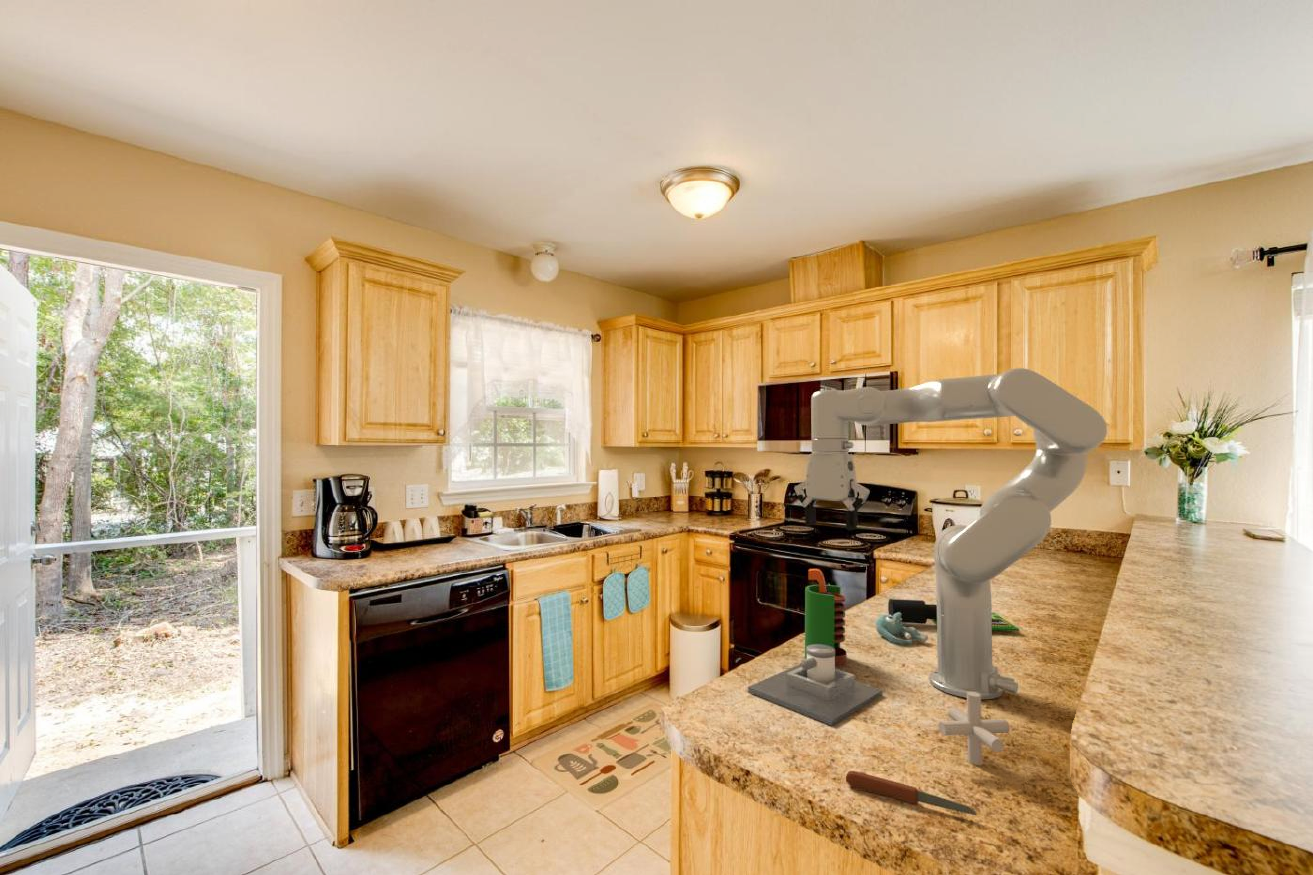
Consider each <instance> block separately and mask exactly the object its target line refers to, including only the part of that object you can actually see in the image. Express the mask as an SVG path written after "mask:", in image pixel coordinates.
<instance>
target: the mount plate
mask: <svg viewBox="0 0 1313 875" xmlns="http://www.w3.org/2000/svg"><path fill="white" fill-rule="evenodd" d="M747 692H748V693H749V694H752V695H754V696H757V697H760V698H761V699H764V700H767V701H769V702H772V703H774V704H776V705H778V706H781V707H784V708H786V709H789V710H791V711H794V712H796V713H799V714H801V715H804V716H807V717H809V718H812V719H813V720H816V721H819V722H820V723H824V724H825V725H829V726H832V727H834V725H837V724H838V723H840V722H841V721H843V720H845V719H846V718H848V717H849V716H851V715H853V714H854V713H856V712H857V711H859V710H861V709H862V708H864V707H866V706H867V705H870V704H871V703H873V702H874V701H875V700H878V699H879V698H881V697H882V696H883V689H881V688H879V687H874V686H872V685H868V684H865V683H861V682H858V681H856V680H855V674H853V673H851V672H847V671H844V670H841V669H837V668H835V681H834V682H832V683H830V684H828V685H826V684H823V683H820V682H817V681H814V680H811V679H808V678H807V670H804V669H803V668H802V666H801V663H799V664H797V665H795V666H794V665H793V666H792V667H790V668H788V669H786V670H783V671H781V672H779V673H777V674H774V675H772V676H770V677H767V678H766V679H762V680H760V681H758V682H756V683H753V684H752V685H749V686H747Z"/></svg>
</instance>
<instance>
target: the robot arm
mask: <svg viewBox="0 0 1313 875" xmlns="http://www.w3.org/2000/svg"><path fill="white" fill-rule="evenodd" d="M810 398H811V400H810V403H811V404H810V408H811V411H810V414H811V416H810V417H811V426H810V428H811V453H809V456H808V459H807V466H806V473H805V475H806V476H805V480H804V481H802V482H801V483H799V484H797V485H795V486H794V488H793V489H794V491H795V494H796V496H797V499H798V501H799V502H800V503H801V505H802V507H803V508H804V522H805V526H806V527H807V526H808V527H809V526H815V525H816V524H817V508H816V506H815V504H816V502H817V501H833V502H842V503H843V504H844V505H845V506H846V508H847V509H848V510H846V511H845V529H846V530H847V531H853V530H857V529H858V528H857V526H858V524H859V511H860V510H861V508H862V507H863V505H865V504H866V501H867V499H868V498H869V495H870V492H871V491H870V489H869V488H867V487H865V486H863V485H861V484H860V483H858V482H857V474H856V473H857V472H856V466H855V461H854V458H853V454H852V453H850V454H849V451H850V449H853V448H854V442H853V441H849V424H848V423H849V422H855V423H856V424H858V425H861V426H877V425H879V426H880V425H891V424H906V423H908V424H909V423H920V422H921V423H922V422H923V423H935V422H947V421H948V422H949V421H961V420H962V421H963V420H975V419H976V420H977V419H990V418H991V419H994V418H995V419H996V418H1006V417H1013V416H1014V417H1016V418H1018V419H1019V420H1020V421H1021V422H1022V423H1024V424H1026V425H1027V426H1029V428H1031V429H1033V438H1034V443H1035V448H1036V449H1035V454H1034V457H1033V459H1032V461H1030V463H1029V464H1028V465H1027V466H1026V467H1025V468H1024V469H1022V471H1021V472H1019V473H1018V474H1017V475H1016V476H1015V477H1013V478H1012V479H1011V480H1009V481H1007V483H1005V484H1004V485H1003V486H1001V487H1000V488H999V489H998V490H996V491H995V492H993V493H992V494H991V495H989V496H988V497H987V498H986V499H985V500H984V501H983V503H982V504H981V506H980V508H979V509H980V510H979V516H978V517H976V519H974V520H973V521H971V523H970V524H968V525H963V524H956V525H951V526H948V527H945V529H943V530H942V531H941V532H940V533H938V535H937V538H936V539H935V542H934V545H933V546H934V547H933V548H934V549H933V559H934V569H935V570H934V572H935V583H936V584H935V585H936V588H935V589H936V605H937V623H936V625H937V626H936V633H937V634H936V635H937V636H936V639H937V640H936V642H937V644H936V645H937V648H936V649H937V669H935V670H932V671H931V672H930V673H929V677H928V679H929V680H928V681H929V682H930V684H931V685H932V686H933V687H935V688H936V689H938V690H940V691H941V692H945V693H947V694H950V695H953V696H957V697H961V698H964V699H965V698H966V699H967V692H968V691H972V692H977V693H979V694H980V695H981V700H992V699H993V700H994V699H997V698H999V697H1001V696H1002V694H1003V691H1006V692H1009V693H1012V694H1017V693H1018V690H1019V684H1018V682H1016V681H1015V678H1011V677H1009V676H1003V675H1001V674H1000V673H999V670H998V668H999V667H998V666H997V665H993V637H992V636H993V630H992V620H991V613H992V593H991V592H992V590H991V580H992V579H994V578H995V577H997V576H998V575H1000V574H1002V573H1003V572H1004V571H1005V570H1006V569H1008V568H1010V567H1011V566H1012V565H1013V564H1014V563H1016V562H1018V560H1020V559H1021V558H1022V557H1024V556H1025V555H1027V554H1028V553H1029V552H1031V551H1032V550H1033V549H1034V548H1036V547H1037V546H1038V545H1039V544H1040V543H1041V542H1043V540H1044V539H1045V538H1046V537H1047V535H1048V534H1049V532H1050V529H1051V526H1052V515H1051V512H1052V511H1053V510H1055V509H1056V508H1057V507H1058V506H1060V504H1062V503H1063V502H1064V501H1065V500H1066V499H1067V498H1068V497H1069V496H1071V495H1072V494H1073V493H1074V491H1076V490H1077V489H1078V487H1079V486H1080V485H1081V483H1082V481H1083V479H1084V476H1085V472H1086V468H1087V458H1088V457H1087V453H1089V452H1092V451H1093V450H1096V449H1097V448H1098V447H1099V446H1101V444H1103V442H1104V441H1105V439H1106V437H1107V434H1108V426H1107V423H1106V420H1105V419H1104V417H1103V416H1102V414H1100V412H1098V410H1096V409H1095V408H1094V407H1092V406H1090V405H1089V404H1088V403H1086V402H1084V401H1083V400H1081V399H1080V398H1078V397H1077V396H1075V395H1073V393H1070V392H1068V391H1067V390H1065V389H1064V388H1062V387H1061V386H1059V385H1058V384H1056V383H1055V382H1053V381H1052V380H1049V379H1048V378H1046V377H1045V376H1043V375H1042V374H1040V373H1038V372H1036V371H1033V370H1031V369H1028V368H1025V367H1024V368H1022V367H1019V368H1018V367H1016V368H1012V369H1009V370H1006V371H1004V372H1002V373H998V374H996V373H995V374H986V375H977V376H967V377H966V376H965V377H954V378H952V377H951V378H942V379H936V380H931V381H928V382H925V383H923V384H920V385H915V386H911V387H908V388H907V387H906V388H899V389H898V388H897V389H893V390H892V389H889V390H879V389H877V388H875V387H870V386H864V387H858V388H851V389H846V390H845V389H844V390H839V389H837V390H836V389H826V390H823V389H822V390H818V391H815V392H813V394H812V395H811V397H810ZM804 490H805V491H804ZM805 493H806V494H805ZM858 494H859V495H858Z"/></svg>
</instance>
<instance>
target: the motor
mask: <svg viewBox="0 0 1313 875" xmlns="http://www.w3.org/2000/svg"><path fill="white" fill-rule="evenodd" d="M807 571H808V574H807V576H808V579H807V580H808V581H811V580H815V581H817V582H818V584H812V585H807V586H805V587H804V588H805V590H804V595H805V596H804V598H805V599H804V601H805V602H804V604H805V605H804V607H805V608H804V660H805V659H807V653H806V647H807V646H808V645H813V644H821V645H827V646H830V647H833V648H834V649H835V668H841V667H844V666H846V665H847V650H845V648H843V647H841V643H844V642H845V640H846V635H845V633H846V628H845V625H846V620H845V619H844V618H845V617H846V612H845V611H844V610H846V604H845V602H846V596H844V595H843V594H841V587H842V586H838V585H832V584H827V583H826V580H825V576H824V573H823V572H822V570H821V569H820V568H809V569H808V570H807Z"/></svg>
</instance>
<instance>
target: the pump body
mask: <svg viewBox="0 0 1313 875" xmlns="http://www.w3.org/2000/svg"><path fill="white" fill-rule="evenodd" d="M806 653H807V659H805V658H804V659H803V660H802V661H801V662H800V664H801V666H802V668H803V669H804V670H807V678H808V679H811V680H814V681H817V682H820V683H823V684H826V685H828V684H830V683H832V682H834V681H835V669H836V667H835V649H834V648H833V647H830V646H827V645H821V644H813V645H808V646H807V647H806Z"/></svg>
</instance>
